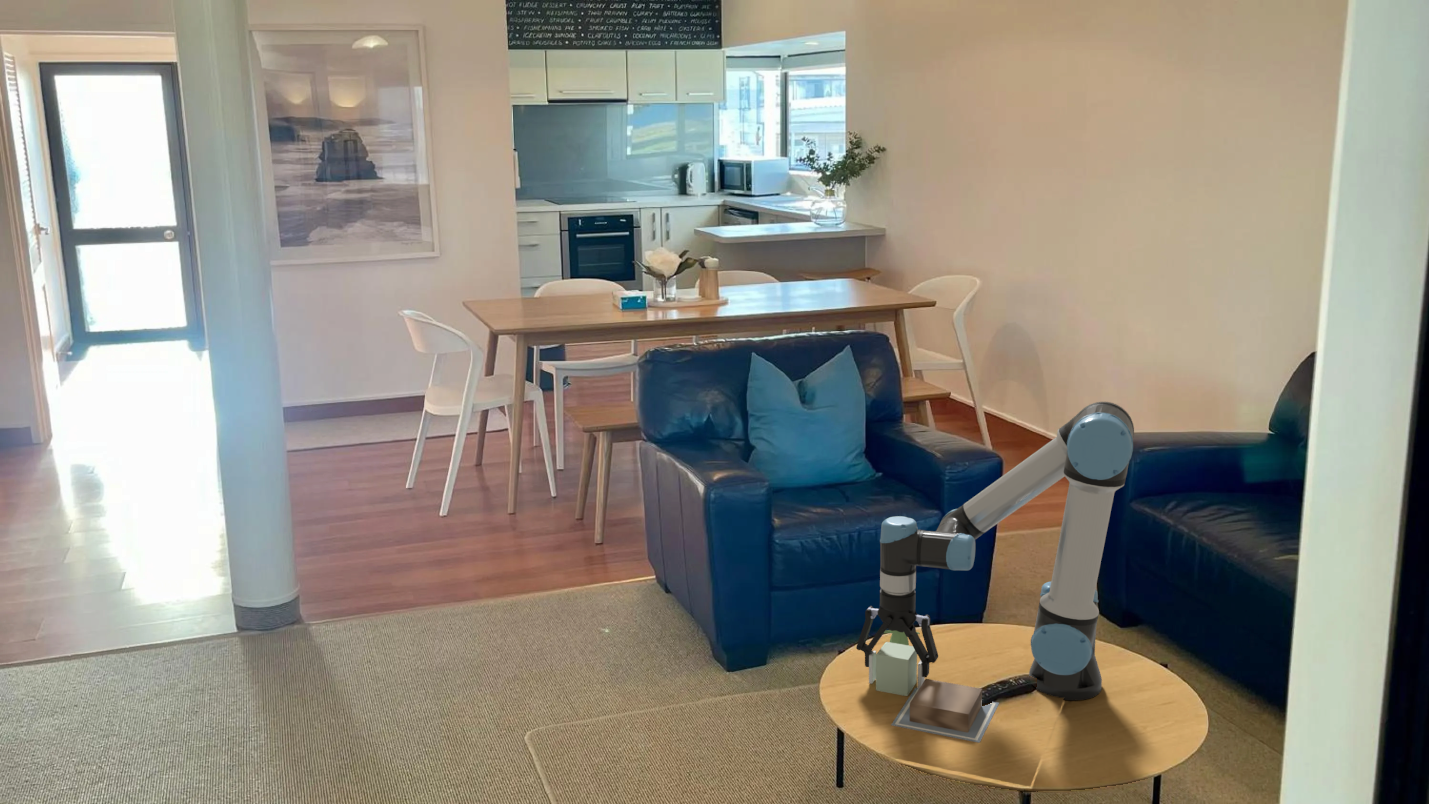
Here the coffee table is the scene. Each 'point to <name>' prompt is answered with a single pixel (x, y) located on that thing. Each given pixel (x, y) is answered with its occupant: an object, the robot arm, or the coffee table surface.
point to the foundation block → (946, 705)
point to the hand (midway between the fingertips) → (896, 685)
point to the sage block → (896, 668)
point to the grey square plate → (973, 734)
